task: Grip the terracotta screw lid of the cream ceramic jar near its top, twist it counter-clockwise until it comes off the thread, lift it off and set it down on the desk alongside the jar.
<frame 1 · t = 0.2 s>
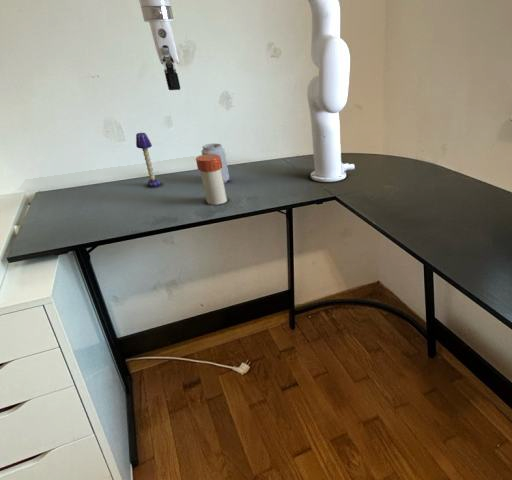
hand: (174, 87, 135), 31 cm above the table, tool pointing down, fingers open, 9 cm apart
toy lamp: (155, 186, 160), on the table
can: (219, 182, 163), on the table
jar: (217, 201, 147), on the table
jar lid: (208, 159, 140), point 13 cm above the table, screwed on, not yet turned
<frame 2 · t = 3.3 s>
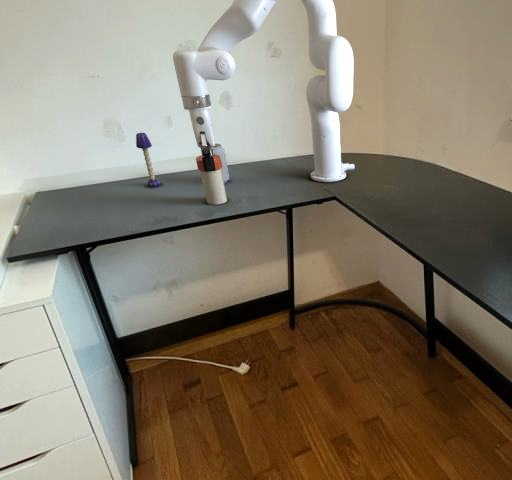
hand: (210, 167, 141), 11 cm above the table, tool pointing down, fingers closed on jar lid, 7 cm apart
jar lid: (208, 159, 140), point 13 cm above the table, screwed on, not yet turned, touching gripper
everything else where it was.
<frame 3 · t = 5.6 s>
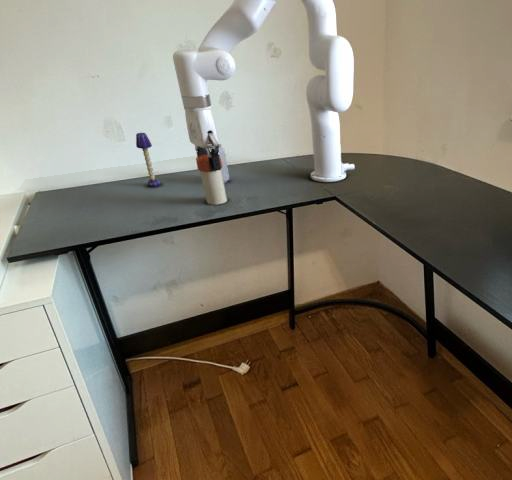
hand: (210, 167, 141), 10 cm above the table, tool pointing down, fingers closed on jar lid, 7 cm apart
jar lid: (208, 159, 140), point 13 cm above the table, off its thread, touching gripper
everything else where it was.
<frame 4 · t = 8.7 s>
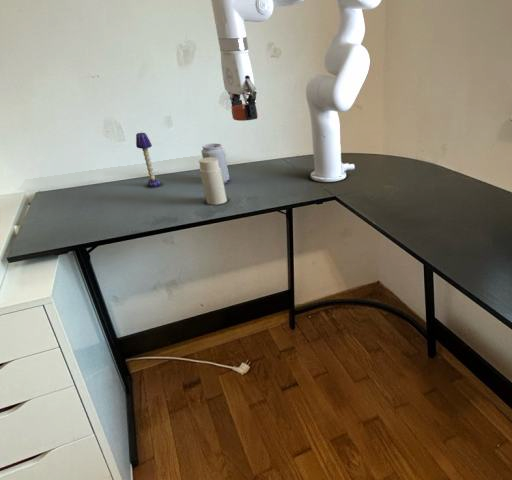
hand: (245, 116, 137), 23 cm above the table, tool pointing down, fingers closed on jar lid, 7 cm apart
jar lid: (243, 108, 136), point 26 cm above the table, off its thread, touching gripper
everything else where it was.
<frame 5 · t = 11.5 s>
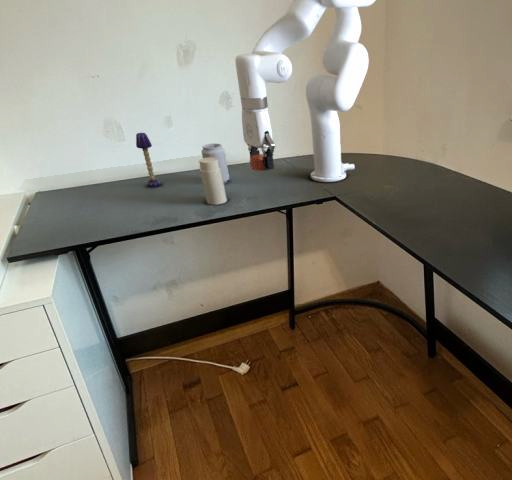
hand: (262, 166, 146), 9 cm above the table, tool pointing down, fingers closed on jar lid, 7 cm apart
jar lid: (261, 159, 145), point 11 cm above the table, off its thread, touching gripper
everything else where it was.
when the fingers open (0 cm above the table, at t = 13.9 s): jar lid stays where it is, point 2 cm above the table.
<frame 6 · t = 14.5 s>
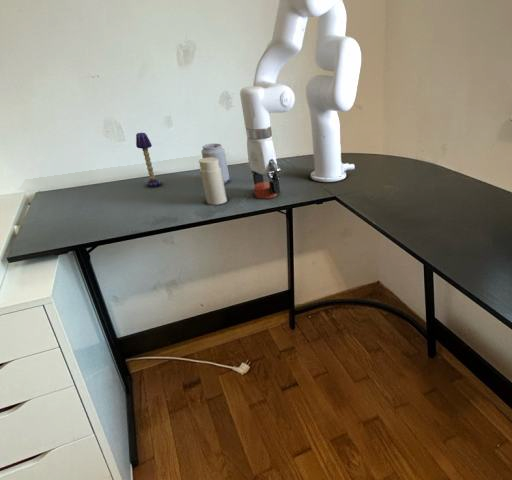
hand: (267, 189, 151), 2 cm above the table, tool pointing down, fingers open, 9 cm apart
jar lid: (265, 187, 150), point 2 cm above the table, off its thread
everything else where it was.
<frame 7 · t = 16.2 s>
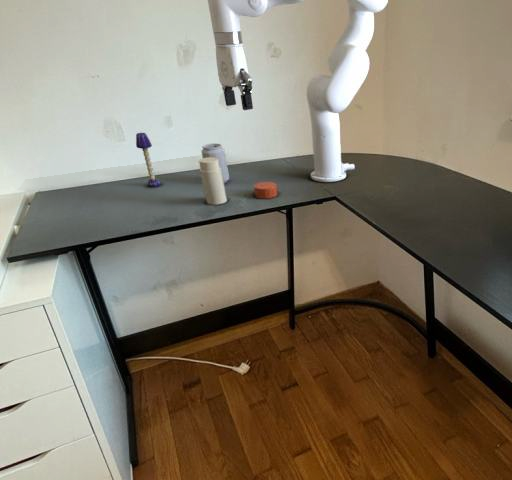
hand: (239, 107, 141), 25 cm above the table, tool pointing down, fingers open, 9 cm apart
nothing on the table moved.
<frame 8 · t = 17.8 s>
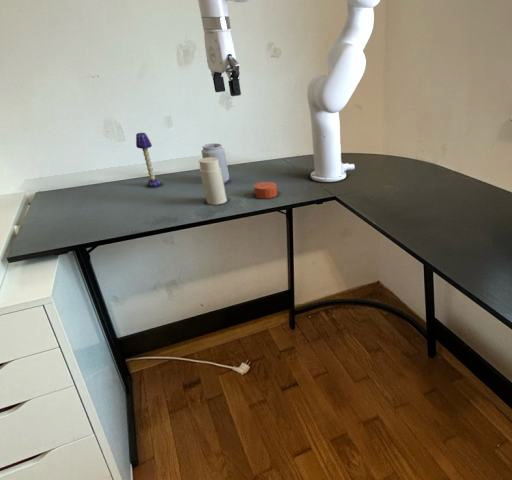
hand: (228, 93, 141), 28 cm above the table, tool pointing down, fingers open, 9 cm apart
nothing on the table moved.
at the end: jar lid inside the target area (0.3 cm from its centre), point 2.5 cm above the table; the gripper is holding nothing; jar tilted 0° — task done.
